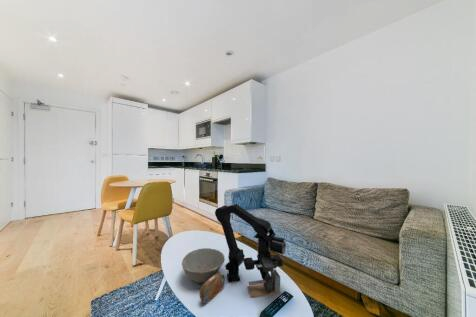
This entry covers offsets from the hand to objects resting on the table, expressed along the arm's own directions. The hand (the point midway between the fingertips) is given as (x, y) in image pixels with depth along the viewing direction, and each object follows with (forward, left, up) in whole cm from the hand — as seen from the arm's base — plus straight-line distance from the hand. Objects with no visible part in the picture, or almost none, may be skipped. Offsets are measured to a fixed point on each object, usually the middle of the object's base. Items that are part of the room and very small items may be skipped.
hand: (263, 278), depth 91 cm
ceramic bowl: (-16, -29, -6) cm, 33 cm away
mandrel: (0, 0, -6) cm, 6 cm away
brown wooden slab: (-2, -25, -6) cm, 26 cm away
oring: (0, +2, -5) cm, 5 cm away
